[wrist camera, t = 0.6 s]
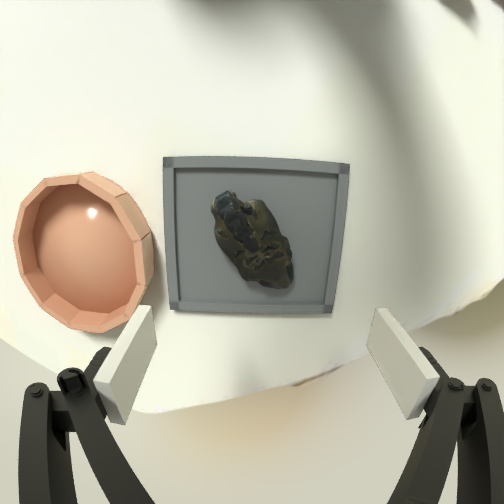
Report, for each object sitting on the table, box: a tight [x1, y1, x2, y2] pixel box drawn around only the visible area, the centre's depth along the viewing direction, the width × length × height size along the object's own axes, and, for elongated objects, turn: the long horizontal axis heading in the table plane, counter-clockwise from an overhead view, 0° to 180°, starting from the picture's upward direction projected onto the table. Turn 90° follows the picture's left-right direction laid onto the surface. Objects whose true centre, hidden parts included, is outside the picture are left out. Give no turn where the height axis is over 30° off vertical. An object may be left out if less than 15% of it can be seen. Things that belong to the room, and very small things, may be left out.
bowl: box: [13, 172, 154, 333], centre depth 32 cm, size 20×20×4 cm
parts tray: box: [163, 156, 350, 313], centre depth 34 cm, size 18×20×1 cm
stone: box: [211, 190, 294, 289], centre depth 31 cm, size 7×13×5 cm, turn 33°
